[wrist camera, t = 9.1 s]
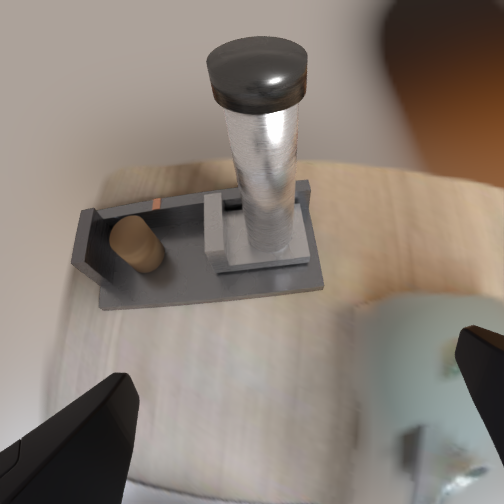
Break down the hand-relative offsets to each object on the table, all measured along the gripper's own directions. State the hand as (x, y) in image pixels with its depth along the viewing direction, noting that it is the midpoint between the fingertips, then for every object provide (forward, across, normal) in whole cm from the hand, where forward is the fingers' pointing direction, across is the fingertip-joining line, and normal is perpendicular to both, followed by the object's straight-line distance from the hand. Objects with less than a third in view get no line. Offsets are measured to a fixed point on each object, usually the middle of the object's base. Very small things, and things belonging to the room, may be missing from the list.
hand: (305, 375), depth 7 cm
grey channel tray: (+17, +5, +2) cm, 18 cm away
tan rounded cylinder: (+16, +10, +2) cm, 19 cm away
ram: (+16, +1, +1) cm, 16 cm away
